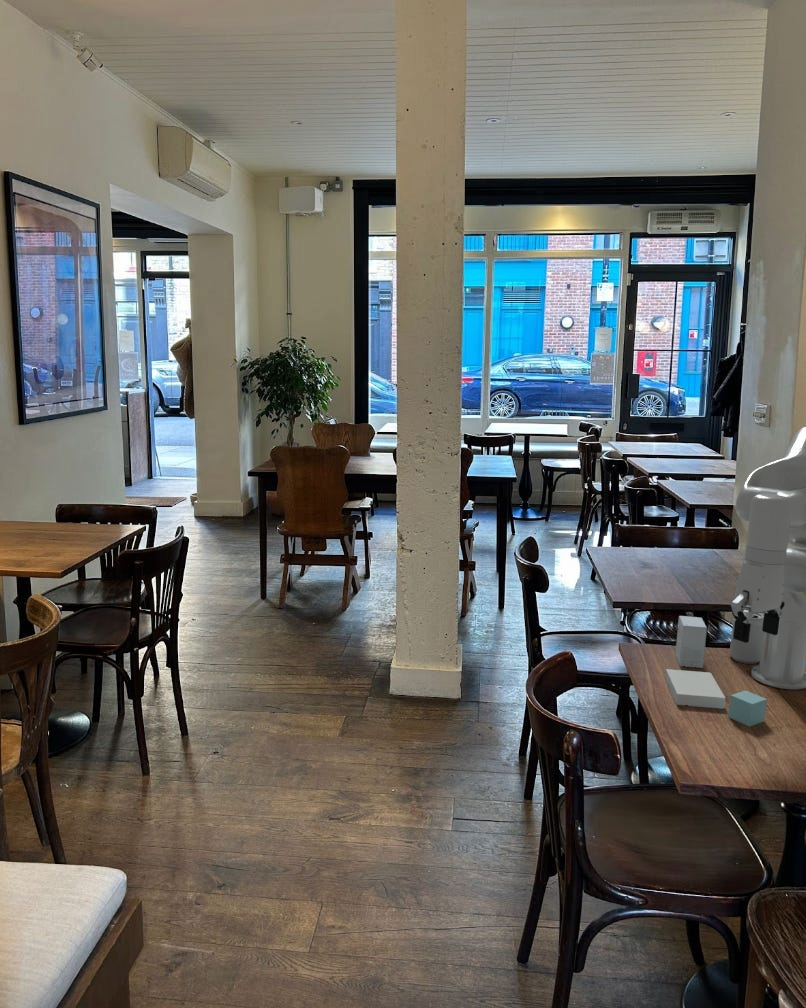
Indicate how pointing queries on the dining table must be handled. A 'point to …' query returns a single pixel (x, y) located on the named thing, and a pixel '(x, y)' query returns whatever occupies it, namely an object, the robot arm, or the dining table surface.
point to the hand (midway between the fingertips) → (755, 636)
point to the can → (752, 649)
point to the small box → (691, 641)
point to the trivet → (694, 689)
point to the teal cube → (747, 708)
